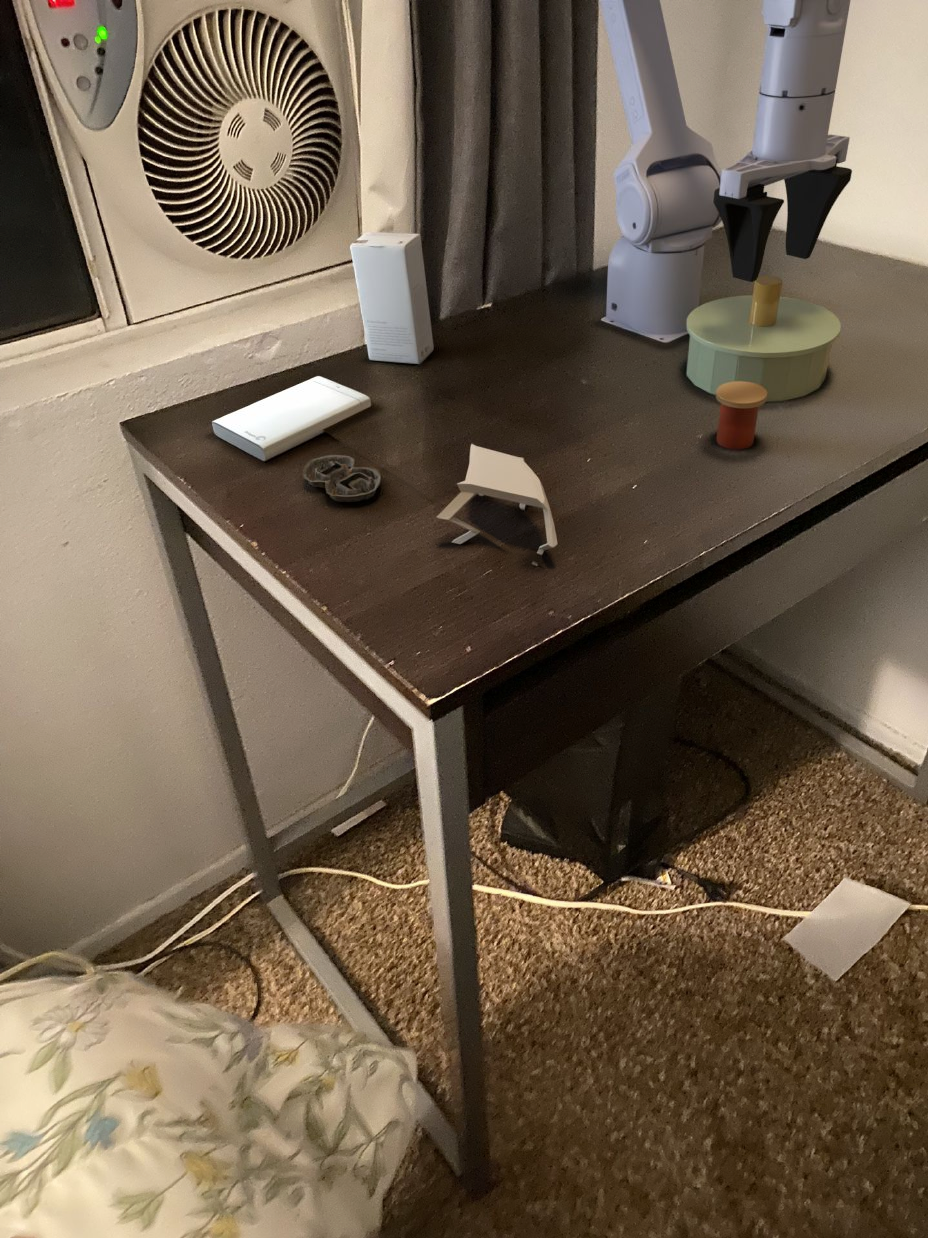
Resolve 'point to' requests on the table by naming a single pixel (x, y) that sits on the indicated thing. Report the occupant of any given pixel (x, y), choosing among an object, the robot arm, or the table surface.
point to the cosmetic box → (393, 296)
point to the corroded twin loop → (342, 478)
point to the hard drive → (289, 417)
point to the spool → (738, 413)
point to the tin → (757, 371)
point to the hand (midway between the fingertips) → (771, 267)
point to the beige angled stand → (499, 490)
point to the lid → (763, 323)
